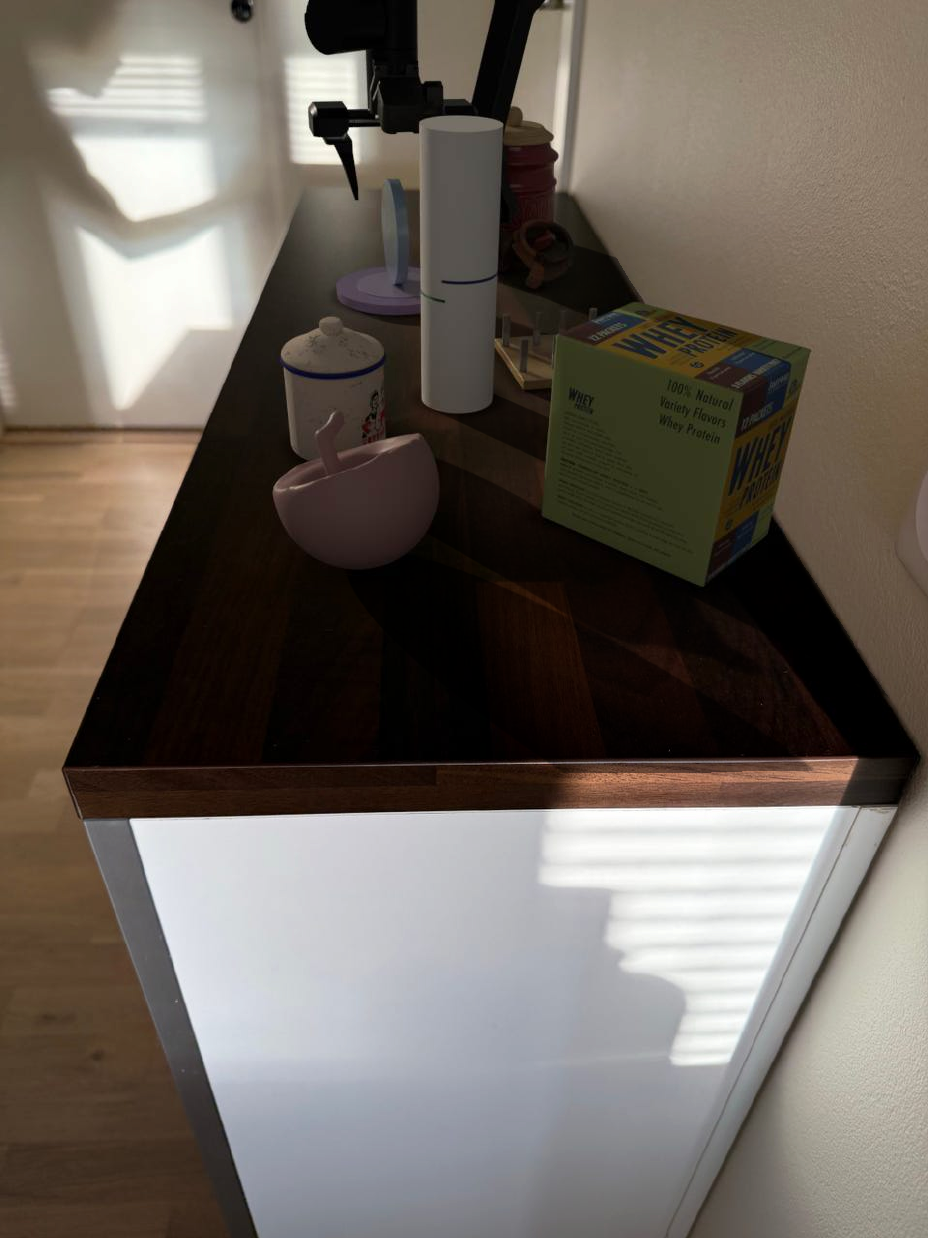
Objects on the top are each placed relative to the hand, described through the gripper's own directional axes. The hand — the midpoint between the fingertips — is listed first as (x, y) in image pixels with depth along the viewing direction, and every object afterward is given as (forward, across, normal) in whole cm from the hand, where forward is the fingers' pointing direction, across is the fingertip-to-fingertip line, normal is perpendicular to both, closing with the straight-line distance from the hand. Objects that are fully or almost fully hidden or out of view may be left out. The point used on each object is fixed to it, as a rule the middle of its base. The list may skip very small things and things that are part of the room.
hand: (395, 198), depth 116 cm
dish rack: (+12, +13, -25) cm, 31 cm away
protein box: (+12, +11, -59) cm, 61 cm away
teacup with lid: (+12, -12, -38) cm, 42 cm away
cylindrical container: (+12, +1, -32) cm, 34 cm away
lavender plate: (+11, 0, 0) cm, 11 cm away
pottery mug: (+12, +18, +4) cm, 21 cm away
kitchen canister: (+12, +20, +20) cm, 30 cm away
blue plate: (+4, 0, +1) cm, 4 cm away
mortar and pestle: (+12, -13, -58) cm, 61 cm away
